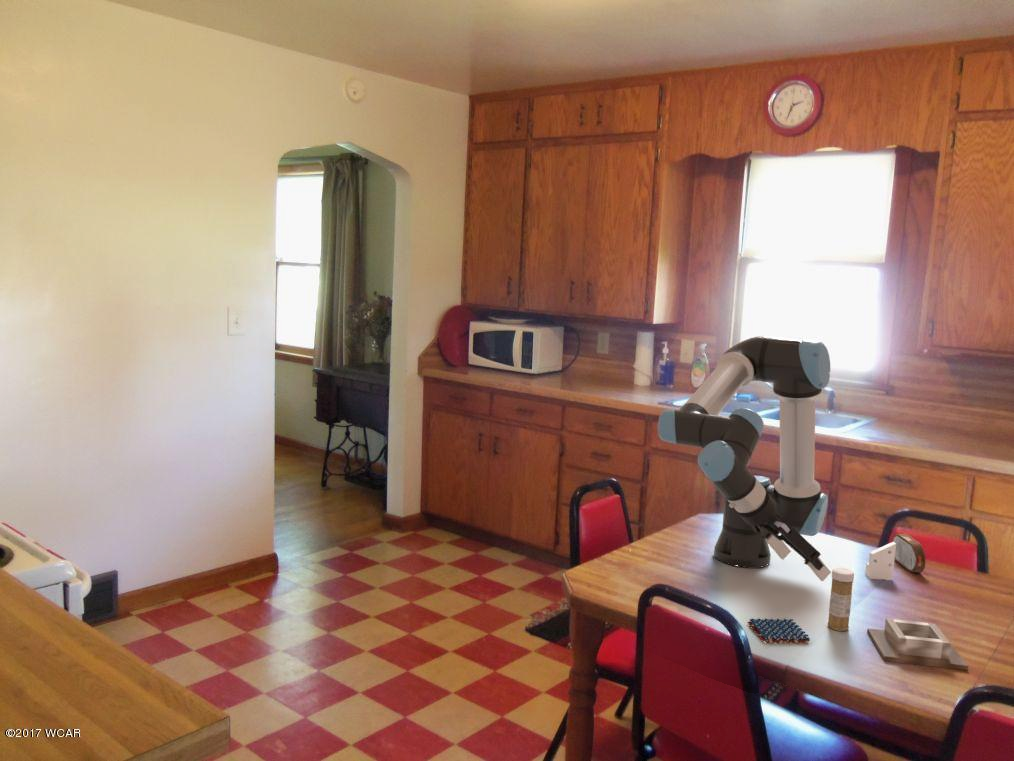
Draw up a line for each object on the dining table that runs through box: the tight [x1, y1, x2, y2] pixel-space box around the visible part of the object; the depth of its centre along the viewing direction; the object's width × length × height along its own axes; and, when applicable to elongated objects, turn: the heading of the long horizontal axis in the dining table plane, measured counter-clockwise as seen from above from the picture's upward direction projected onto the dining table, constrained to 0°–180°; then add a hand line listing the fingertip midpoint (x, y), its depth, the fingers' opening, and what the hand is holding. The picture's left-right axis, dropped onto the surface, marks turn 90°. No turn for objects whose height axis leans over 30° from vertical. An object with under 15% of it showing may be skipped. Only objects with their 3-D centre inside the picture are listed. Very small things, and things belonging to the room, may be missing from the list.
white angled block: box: [864, 541, 896, 581], centre depth 219 cm, size 4×10×9 cm, turn 84°
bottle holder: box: [866, 618, 969, 671], centre depth 175 cm, size 16×14×4 cm
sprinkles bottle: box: [827, 567, 855, 632], centre depth 185 cm, size 5×5×14 cm
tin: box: [892, 533, 927, 574], centre depth 228 cm, size 15×3×8 cm, turn 179°
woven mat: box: [747, 618, 811, 645], centre depth 181 cm, size 10×11×2 cm
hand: (805, 565), depth 181 cm, fingers open, 13 cm apart
